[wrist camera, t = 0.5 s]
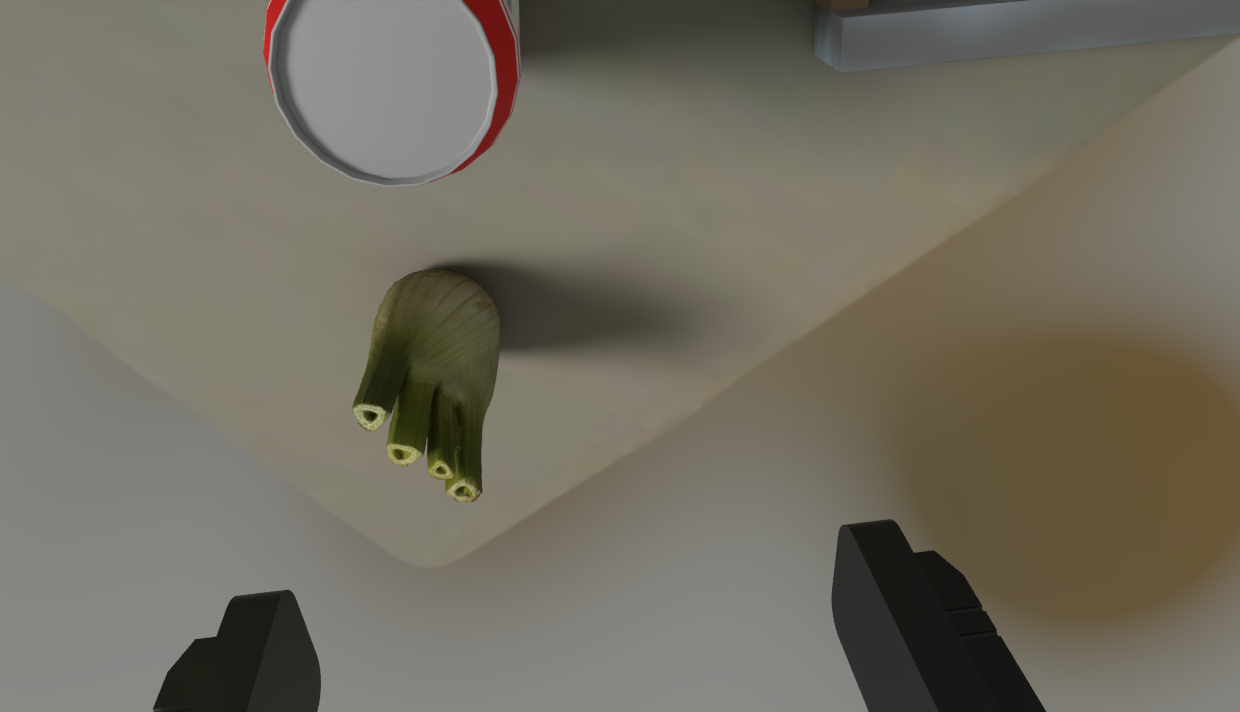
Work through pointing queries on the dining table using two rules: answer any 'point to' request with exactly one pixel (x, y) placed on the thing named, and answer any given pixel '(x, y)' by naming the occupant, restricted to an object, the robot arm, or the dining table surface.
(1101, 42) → the frame
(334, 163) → the beer can
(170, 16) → the dining table surface
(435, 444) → the fennel bulb
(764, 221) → the dining table surface
